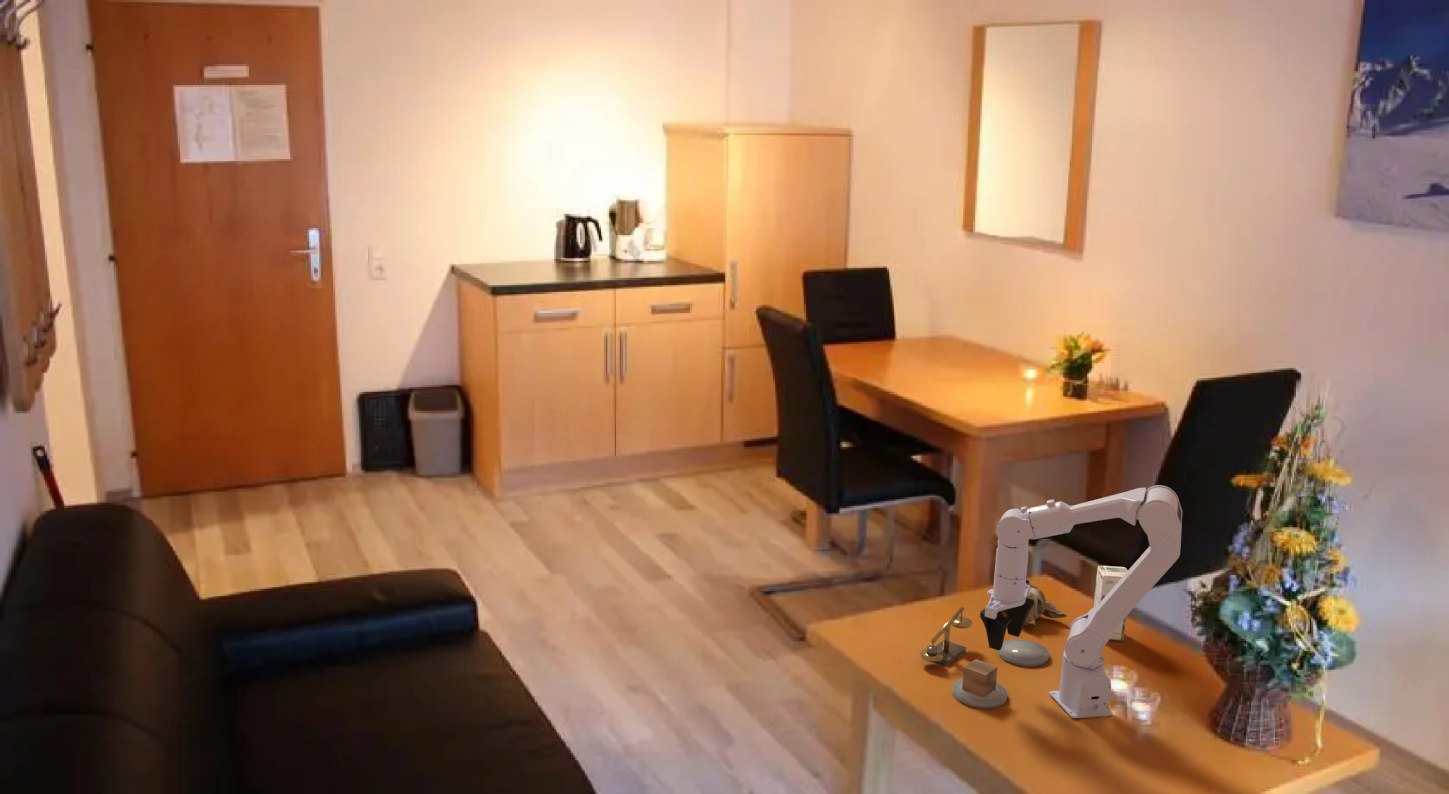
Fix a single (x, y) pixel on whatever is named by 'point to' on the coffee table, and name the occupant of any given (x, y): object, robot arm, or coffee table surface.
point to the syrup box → (1104, 584)
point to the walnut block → (979, 678)
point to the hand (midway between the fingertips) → (1004, 641)
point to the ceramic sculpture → (1040, 607)
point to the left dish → (988, 701)
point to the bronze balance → (947, 642)
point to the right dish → (1023, 652)
